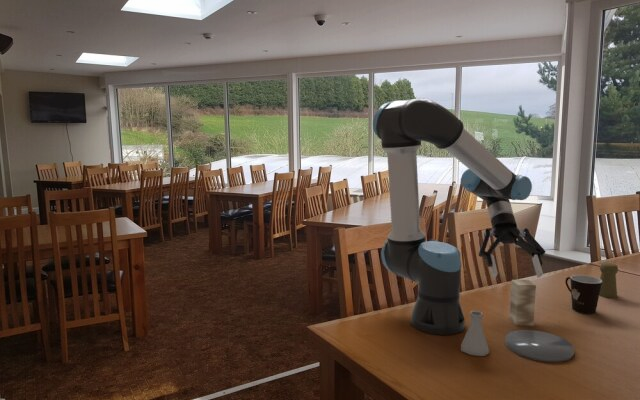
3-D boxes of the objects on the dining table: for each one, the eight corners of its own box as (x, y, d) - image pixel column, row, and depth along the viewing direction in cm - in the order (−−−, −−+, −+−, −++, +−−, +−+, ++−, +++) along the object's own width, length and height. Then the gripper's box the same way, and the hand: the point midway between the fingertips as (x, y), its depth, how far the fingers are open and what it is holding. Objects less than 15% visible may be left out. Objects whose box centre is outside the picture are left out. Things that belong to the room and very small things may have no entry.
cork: (617, 293, 160) (619, 262, 158) (617, 299, 155) (619, 267, 153) (596, 290, 163) (599, 260, 161) (596, 295, 158) (598, 264, 156)
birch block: (516, 325, 134) (518, 285, 132) (509, 318, 139) (511, 279, 137) (533, 325, 134) (536, 285, 132) (526, 318, 138) (528, 279, 137)
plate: (528, 364, 111) (528, 359, 111) (493, 336, 126) (494, 332, 126) (588, 359, 113) (589, 354, 113) (547, 332, 129) (548, 328, 128)
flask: (486, 359, 113) (488, 320, 112) (456, 352, 117) (458, 314, 116) (492, 348, 119) (494, 311, 118) (464, 341, 123) (465, 305, 122)
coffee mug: (604, 316, 140) (606, 284, 139) (573, 314, 142) (575, 282, 140) (590, 302, 151) (592, 273, 150) (561, 301, 153) (563, 271, 152)
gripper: (535, 224, 157) (554, 281, 145) (461, 224, 158) (473, 281, 145) (544, 211, 151) (563, 269, 139) (467, 211, 152) (479, 269, 139)
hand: (517, 275), depth 142 cm, fingers open, 13 cm apart
